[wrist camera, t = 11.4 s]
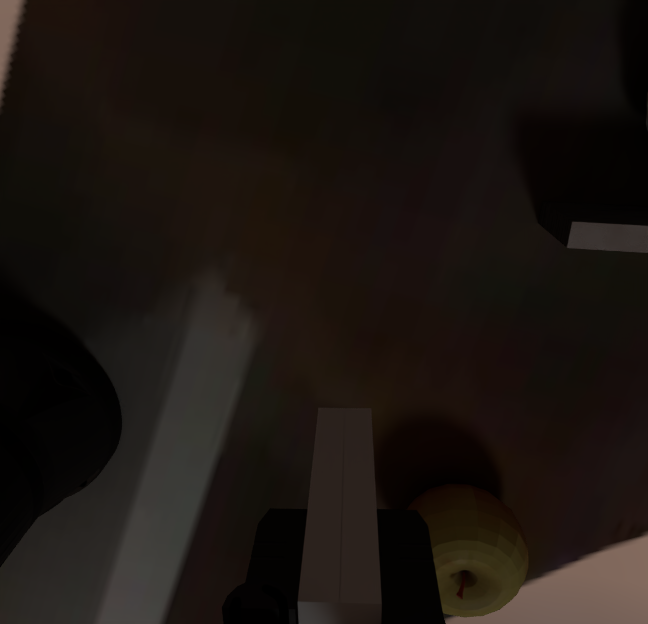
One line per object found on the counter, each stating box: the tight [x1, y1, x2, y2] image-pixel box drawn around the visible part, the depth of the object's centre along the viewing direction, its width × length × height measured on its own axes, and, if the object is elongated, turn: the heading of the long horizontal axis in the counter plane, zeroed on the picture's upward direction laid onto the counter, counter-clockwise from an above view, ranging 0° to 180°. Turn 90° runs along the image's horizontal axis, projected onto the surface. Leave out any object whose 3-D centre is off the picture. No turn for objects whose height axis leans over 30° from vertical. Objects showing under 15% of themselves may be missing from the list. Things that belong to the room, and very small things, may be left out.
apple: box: [407, 484, 528, 617], centre depth 43 cm, size 10×10×8 cm
